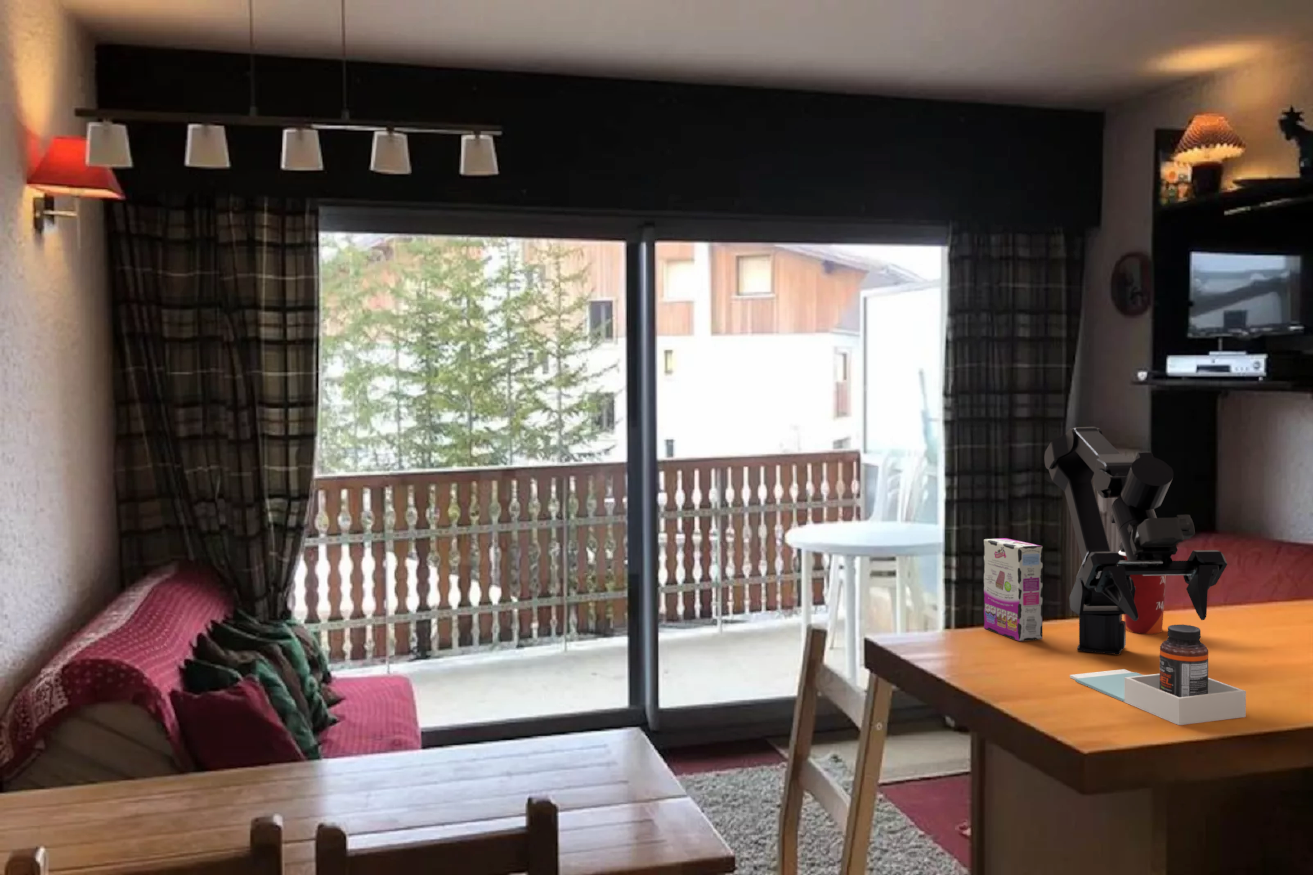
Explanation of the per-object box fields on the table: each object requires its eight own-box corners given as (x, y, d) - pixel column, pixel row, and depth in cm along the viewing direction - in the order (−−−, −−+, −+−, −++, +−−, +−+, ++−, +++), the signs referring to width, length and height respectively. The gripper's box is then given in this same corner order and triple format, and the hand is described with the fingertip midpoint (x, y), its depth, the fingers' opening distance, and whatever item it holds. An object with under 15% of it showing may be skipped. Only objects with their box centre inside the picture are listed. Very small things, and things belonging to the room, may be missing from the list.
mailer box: (1178, 725, 140) (1178, 698, 140) (1067, 677, 163) (1067, 655, 163) (1245, 716, 143) (1245, 690, 143) (1126, 671, 166) (1126, 648, 165)
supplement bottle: (1150, 704, 150) (1150, 623, 149) (1191, 702, 150) (1192, 621, 149) (1174, 717, 144) (1175, 633, 143) (1217, 715, 144) (1218, 631, 143)
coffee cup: (1177, 635, 187) (1178, 549, 186) (1129, 636, 187) (1130, 550, 186) (1155, 624, 195) (1156, 541, 194) (1110, 624, 195) (1110, 542, 195)
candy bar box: (1044, 640, 186) (1044, 545, 185) (1019, 642, 184) (1019, 547, 184) (1006, 626, 197) (1006, 536, 196) (982, 628, 195) (981, 538, 194)
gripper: (1088, 496, 155) (1116, 587, 145) (1221, 494, 154) (1259, 585, 144) (1070, 542, 164) (1096, 631, 153) (1196, 540, 163) (1231, 630, 152)
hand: (1170, 618), depth 150 cm, fingers open, 9 cm apart
